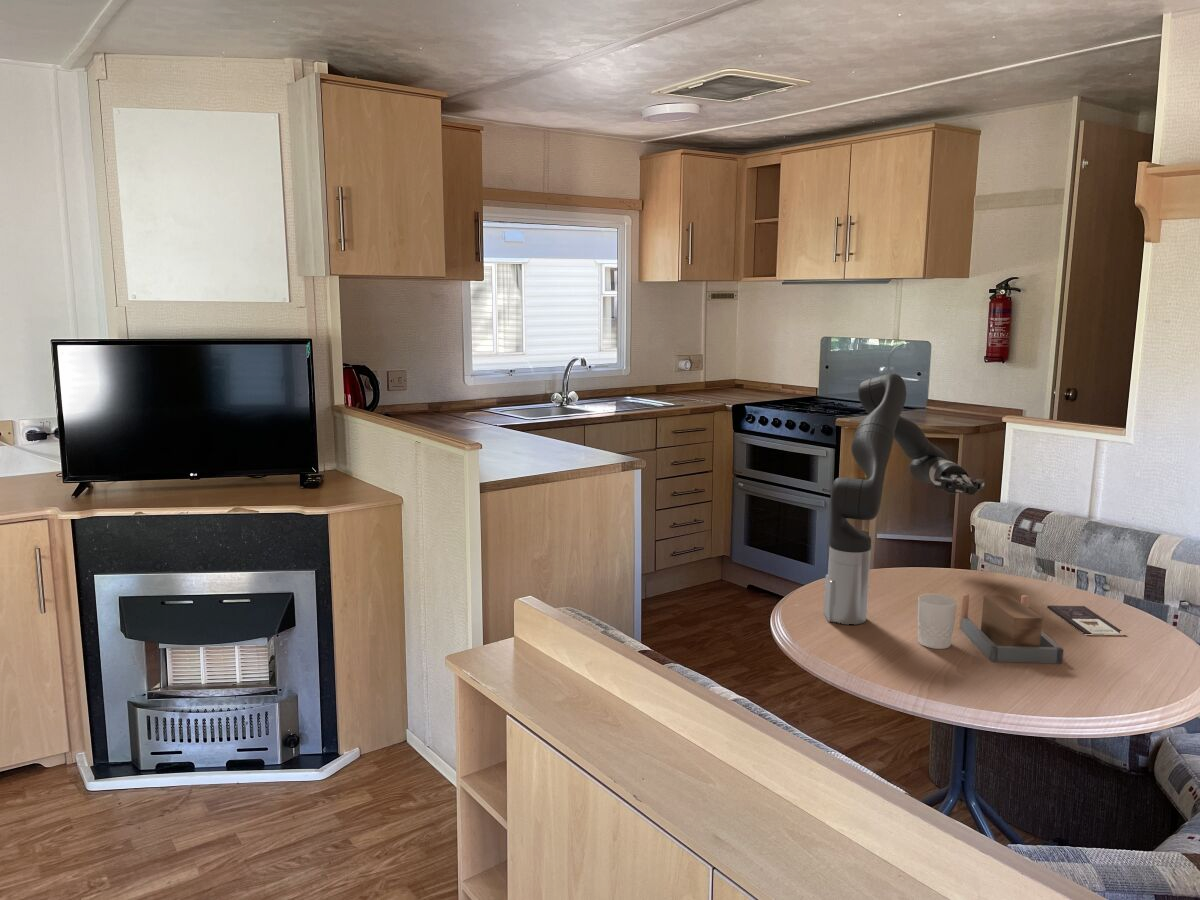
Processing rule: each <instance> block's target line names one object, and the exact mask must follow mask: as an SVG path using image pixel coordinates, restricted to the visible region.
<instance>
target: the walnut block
mask: <svg viewBox="0 0 1200 900" xmlns="http://www.w3.org/2000/svg"><path fill="white" fill-rule="evenodd" d="M982 603H983V604H982V612H981V613H982V614H981V623H980V625H981V626H980V630H981V631H982V632H983V633H984V634H985V635H986V636H987V637H988V638H989V639H990V640H991V641H992V642H993V643H994V644H995V645H996V646H1025V647H1040V640H1041V631H1043V630H1042V629H1043V628H1042V627H1043V620H1044V619H1043V617H1042V616H1040V615H1039V614H1037V613H1036V612H1035V611H1034V610H1032V609H1030V608H1029V606H1028V607H1026V606H1025V605H1023V604H1022V603H1021V601H1019V600H1017V599H1016V598H1015V597H1013V596H1012V595H1011V594H1010V595H983V600H982Z"/></svg>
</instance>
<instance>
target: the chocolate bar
mask: <svg viewBox="0 0 1200 900" xmlns="http://www.w3.org/2000/svg"><path fill="white" fill-rule="evenodd" d="M1046 608H1047V609H1048V610H1049V611H1052V612H1053V614H1055V615H1056V616H1058V617H1059V616H1060V617H1059V618H1061V619H1062V620H1063V619H1064V620H1063V621H1065V622H1066V623H1068V624H1069V625H1070V624H1071V625H1070V626H1072V627H1073V626H1074V627H1075V628H1074V627H1073V628H1074V629H1076V628H1077V629H1078V630H1077V629H1076V630H1077V631H1079V630H1080V631H1081V632H1083V633H1084V634H1093V635H1104V634H1120V631H1122V630H1121V629H1119V628H1118V627H1117V626H1115V625H1113V624H1112V623H1111V622H1109V621H1108V620H1106V619H1104V618H1103V617H1101V616H1100V615H1099V614H1097V613H1096V612H1094V611H1093V610H1092V609H1090V608H1088V607H1086V606H1085V605H1047V606H1046ZM1080 631H1079V632H1080ZM1081 632H1080V633H1081ZM1083 633H1082V634H1083ZM1084 634H1083V635H1084Z"/></svg>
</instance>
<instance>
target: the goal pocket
mask: <svg viewBox="0 0 1200 900" xmlns="http://www.w3.org/2000/svg"><path fill="white" fill-rule="evenodd" d="M960 601H961V602H960V604H961V605H960V614H959V626H958V628H959V629H960V630H961V631H962V632H963V633H964V634H965V635H966V636H967V637H968V638H969V639H970V640H971V642H972V643H973V644H974V645H975V646H976V648H978V650H980V651H981V652H982V653H983V654H984V655H985V657H986V658H987V659H988V660H989V661H990V662H995V663H1000V662H1001V663H1030V664H1031V663H1032V664H1035V663H1036V664H1063V660H1064V659H1063V658H1064V649H1063V648H1062V647H1061V646H1060V645H1059V644H1057V643H1056V642H1055V641H1054V640H1053V639H1052V638H1050V637H1049V636H1048V635H1047V634H1046V633H1045V632H1043V630H1041V640H1040V647H1025V646H996V645H995V644H994V643H993V642H992V641H991V640H990V639H989V638H988V637H987V636H986V635H985V634H984V633H983V632H982V631H981V628H979V627H978V626H977V625H976V624H975V622H973V620H971V619H970V618H969V609H970V607H969V605H970V594H969V593H961V600H960ZM1029 601H1030V595H1027V594H1022V595H1021V599H1020V603H1022V604H1023V605H1025V606H1026V607H1028V608H1029Z"/></svg>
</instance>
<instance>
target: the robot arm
mask: <svg viewBox="0 0 1200 900" xmlns="http://www.w3.org/2000/svg"><path fill="white" fill-rule="evenodd" d="M857 392H858V400H859V402H860V404H861V406H862V408H863V409H864V410H865V412H866V413H867V414H868V415H867V416H866V417H864V418H863V420H862V421H861V422H860V423H859V424H858V426H857V428H856V429H855V432H854V435H853V439H852V443H851V453H852V457H853V459H854V461H855V462H856V464H857V465H858V466H859V468H860V469H861V471H862V472H863V473H864V475H865V477H866V478H867V479H863V478H851V477H837V478H835V479H834V481H833V483H832V485H831V489H830V490H831V491H830V524H829V527H830V529H829V548H828V549H829V550H828V567H827V574H825V581H824V594H823V595H824V596H823V597H824V598H823V599H824V600H823V612H822V613H823V615H824V616H825V618H826V620H827V622H831V623H836V622H837V624H840V623H841V624H842V625H849V624H854V625H861V624H863V623H865V622H866V621H867V615H868V597H869V596H868V595H869V581H870V580H869V579H870V565H871V549H872V538H871V536H870V535H869V534H868V533H866V532H864V531H862V530H860V529H858V528H856V527H854V526H853V525H852V524H851V523H850V522H848V519H851V520H861V521H871V520H874V519H875V518H877V516H878V514H879V512H880V508H881V504H882V503H881V502H882V497H883V496H882V495H883V488H884V483H885V482H884V481H885V474H886V469H887V466H888V462H889V459H890V455H891V453H892V452H891V451H892V448H893V444H894V440H895V442H897V444H898V445H899V447H900V448H901V449H902V451H903V453H904V454H905V455H906V456H907V458H909V459H910V460H911V462H910V463H909V467H908V468H909V469H908V470H909V473H910V474H911V476H912V477H913V478H915V480H916V481H919V482H921V483H924V484H934V485H933V487H934V488H935V489H940V490H941V491H943V492H944V493H947V494H951V495H955V494H959V493H964V494H966V495H968V496H974V495H975V494H976V493H977V492H980V491H982V490H984V489H985V478H979V479H978V478H976V480H975V479H974V478H973V477H970V476H969V473H968V472H967V471H966V469H964V468H963V467H962V466H960V465H959V464H957V463H956V462H953V461H951V460H949V458H948V455H947V453H945V451H944V450H943V449H941V448H940V447H938V446H936V445H935V444H933V443H932V442H930V440H929V439H928V438H927V436H926V435H925V433H924V431H923V430H922V429H921V428H920V426H919V425H918V424H917V423H915V422H913V421H911V420H910V419H908V418H906V417H903V416H902V415H901V414H902V412H903V410H904V407H905V404H906V401H907V400H906V398H907V386H906V384H905V381H904V379H903V377H901V376H900V375H899V374H897V373H886V374H883V375H879V376H876V377H873V378H869V379H866V380H863V381H861V382H860V384H859V386H858V390H857ZM841 624H840V625H841Z"/></svg>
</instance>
